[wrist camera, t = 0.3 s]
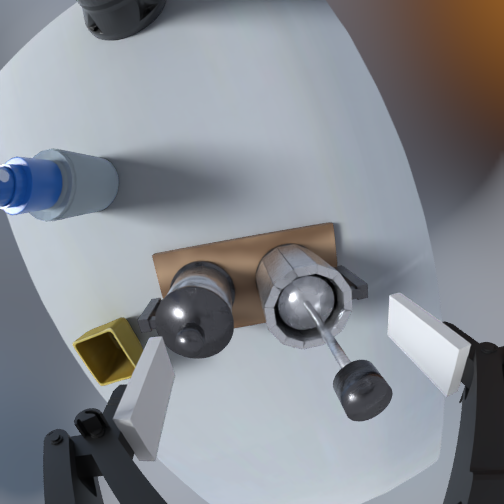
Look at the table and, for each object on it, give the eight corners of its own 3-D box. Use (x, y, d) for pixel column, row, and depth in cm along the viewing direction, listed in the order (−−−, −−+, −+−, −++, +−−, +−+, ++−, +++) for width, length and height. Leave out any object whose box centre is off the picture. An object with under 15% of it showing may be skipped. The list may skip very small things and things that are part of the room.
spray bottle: (105, 146, 40) (2, 118, 16) (127, 193, 42) (28, 202, 17) (65, 176, 40) (-44, 177, 16) (86, 221, 42) (-20, 254, 18)
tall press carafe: (250, 249, 44) (257, 274, 31) (333, 235, 44) (371, 252, 31) (261, 313, 46) (271, 356, 33) (339, 296, 46) (372, 332, 34)
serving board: (154, 253, 44) (152, 255, 43) (329, 222, 45) (333, 223, 44) (175, 332, 47) (174, 336, 46) (337, 303, 48) (340, 306, 47)
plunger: (273, 280, 34) (318, 379, 15) (329, 269, 34) (418, 347, 15) (281, 332, 35) (321, 447, 17) (333, 320, 35) (406, 418, 17)
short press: (148, 269, 43) (108, 311, 27) (228, 255, 43) (226, 293, 27) (164, 327, 45) (138, 387, 29) (240, 315, 46) (245, 376, 30)
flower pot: (129, 304, 46) (111, 327, 37) (154, 346, 48) (141, 375, 39) (92, 320, 46) (71, 343, 37) (116, 359, 48) (100, 387, 39)
